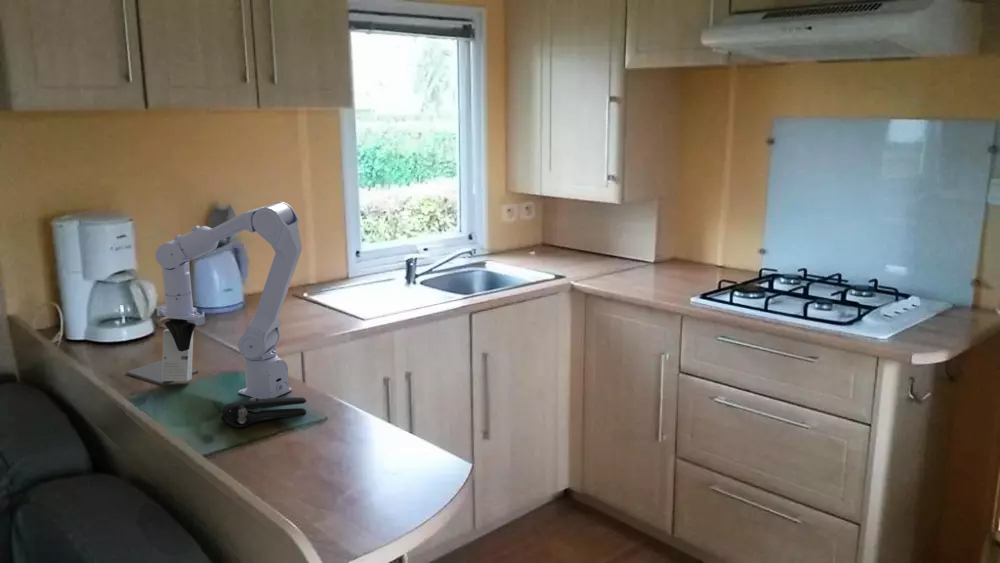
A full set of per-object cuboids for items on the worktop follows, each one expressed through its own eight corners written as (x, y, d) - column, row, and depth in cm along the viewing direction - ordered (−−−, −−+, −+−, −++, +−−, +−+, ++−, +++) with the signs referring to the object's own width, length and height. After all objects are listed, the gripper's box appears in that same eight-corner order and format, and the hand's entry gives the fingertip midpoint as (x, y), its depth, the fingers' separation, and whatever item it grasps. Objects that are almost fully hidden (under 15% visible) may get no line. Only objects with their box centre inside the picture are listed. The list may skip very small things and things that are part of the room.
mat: (198, 372, 197) (198, 370, 197) (162, 385, 189) (162, 382, 189) (162, 362, 204) (162, 360, 204) (126, 374, 196) (126, 371, 196)
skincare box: (160, 381, 186) (161, 329, 187) (166, 380, 191) (167, 329, 191) (188, 381, 187) (188, 329, 187) (193, 379, 191) (193, 328, 192)
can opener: (224, 434, 163) (221, 409, 162) (220, 421, 170) (217, 397, 168) (311, 419, 171) (309, 394, 169) (304, 407, 177) (302, 383, 175)
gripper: (214, 293, 181) (218, 350, 184) (173, 284, 188) (178, 339, 192) (187, 300, 175) (193, 359, 179) (146, 291, 183) (152, 347, 186)
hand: (183, 349), depth 185 cm, fingers closed
